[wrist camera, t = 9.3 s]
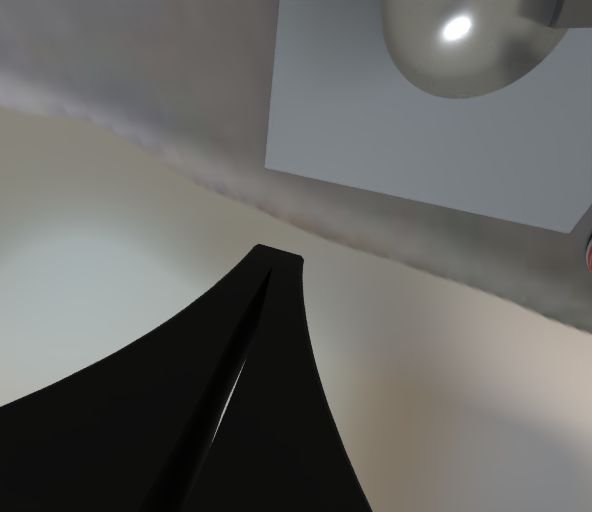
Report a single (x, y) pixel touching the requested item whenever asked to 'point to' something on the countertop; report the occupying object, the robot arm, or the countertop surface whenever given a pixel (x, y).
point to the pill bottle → (589, 256)
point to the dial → (475, 40)
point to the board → (429, 122)
